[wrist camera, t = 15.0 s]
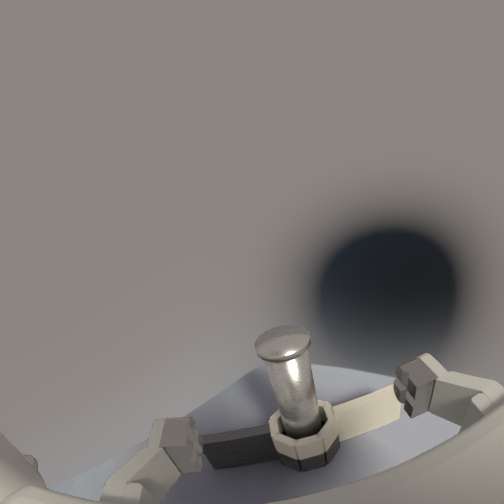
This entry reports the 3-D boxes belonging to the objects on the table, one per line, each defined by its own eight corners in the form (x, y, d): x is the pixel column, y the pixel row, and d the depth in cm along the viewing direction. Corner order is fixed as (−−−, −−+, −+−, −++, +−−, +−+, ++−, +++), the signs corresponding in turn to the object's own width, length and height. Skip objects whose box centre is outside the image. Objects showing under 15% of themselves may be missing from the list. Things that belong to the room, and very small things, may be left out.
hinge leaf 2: (283, 476, 23) (273, 451, 21) (275, 434, 29) (266, 407, 28) (408, 433, 23) (413, 403, 22) (386, 399, 29) (386, 369, 28)
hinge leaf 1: (214, 486, 23) (196, 463, 21) (215, 445, 29) (200, 419, 28) (344, 459, 23) (342, 432, 22) (329, 420, 29) (325, 391, 28)
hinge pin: (291, 467, 24) (257, 361, 20) (285, 438, 28) (252, 333, 24) (332, 456, 24) (316, 345, 20) (323, 428, 28) (302, 319, 24)
